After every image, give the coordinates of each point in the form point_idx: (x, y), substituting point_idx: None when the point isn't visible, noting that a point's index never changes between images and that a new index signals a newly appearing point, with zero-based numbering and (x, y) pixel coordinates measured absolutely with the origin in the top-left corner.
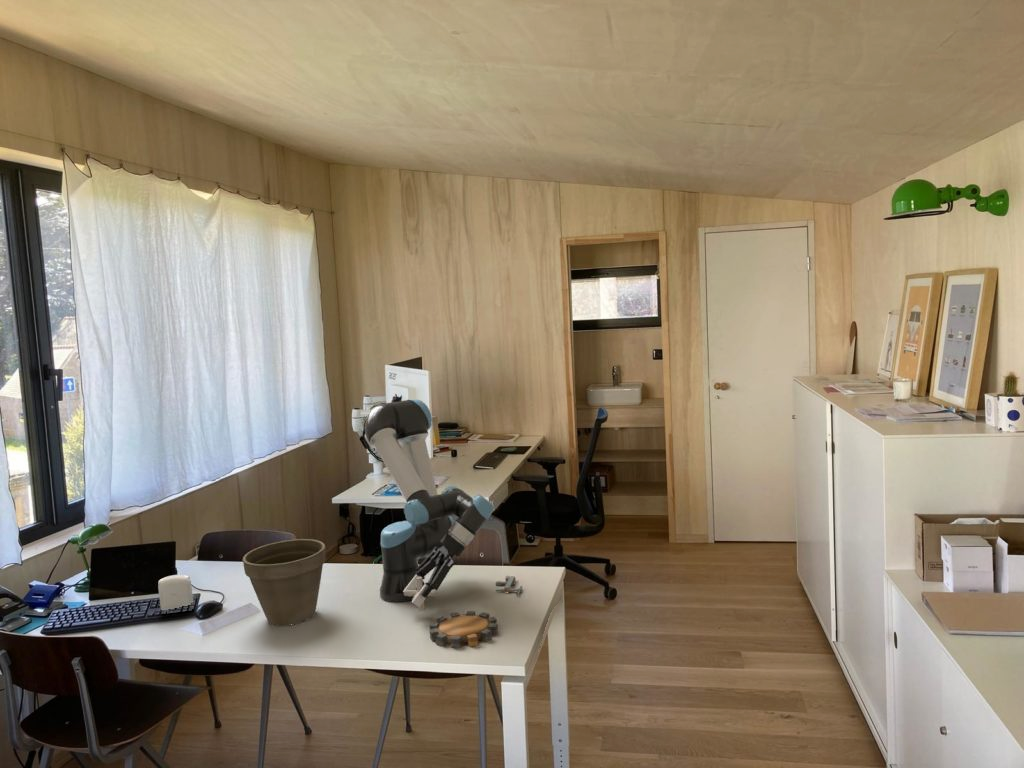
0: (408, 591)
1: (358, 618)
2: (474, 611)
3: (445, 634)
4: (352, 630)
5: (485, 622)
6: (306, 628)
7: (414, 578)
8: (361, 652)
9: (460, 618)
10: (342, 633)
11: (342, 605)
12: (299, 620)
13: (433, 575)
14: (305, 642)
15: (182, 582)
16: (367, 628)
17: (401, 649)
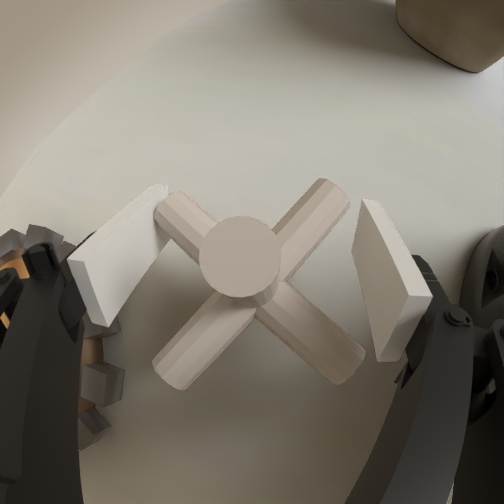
0: (303, 202)
1: (383, 104)
2: (79, 447)
3: (10, 262)
4: (294, 66)
5: None
6: (368, 25)
7: (396, 270)
8: (138, 67)
9: None
10: (289, 49)
11: (486, 123)
12: (401, 22)
13: (3, 345)
14: (287, 8)
15: None
16: (281, 94)
17: (73, 145)
